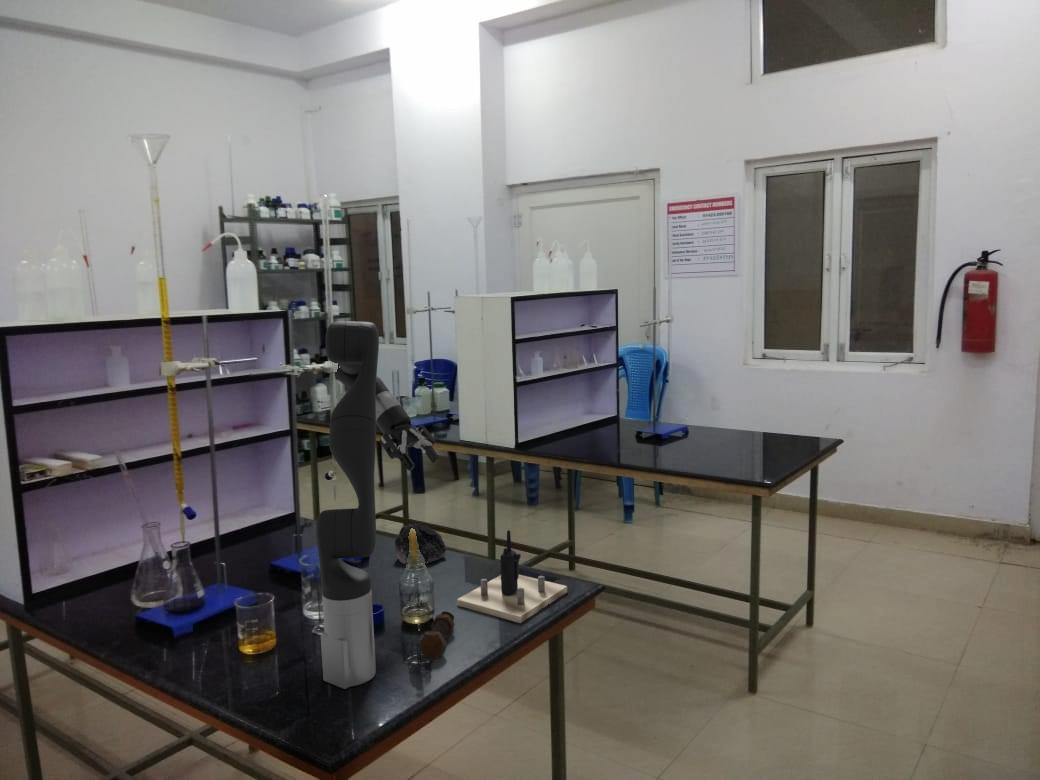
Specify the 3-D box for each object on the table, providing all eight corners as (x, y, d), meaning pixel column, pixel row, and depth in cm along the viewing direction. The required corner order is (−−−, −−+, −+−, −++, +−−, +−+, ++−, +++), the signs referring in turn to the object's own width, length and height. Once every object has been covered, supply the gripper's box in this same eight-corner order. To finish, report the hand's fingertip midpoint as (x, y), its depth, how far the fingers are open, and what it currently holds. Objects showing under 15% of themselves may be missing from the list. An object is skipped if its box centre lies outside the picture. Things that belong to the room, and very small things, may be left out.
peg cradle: (520, 623, 171) (519, 601, 170) (457, 605, 181) (456, 585, 180) (567, 592, 187) (566, 572, 186) (506, 577, 197) (506, 558, 196)
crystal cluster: (453, 563, 210) (453, 527, 210) (406, 569, 203) (406, 531, 203) (434, 552, 222) (434, 518, 221) (389, 557, 215) (389, 522, 215)
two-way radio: (507, 587, 187) (505, 527, 185) (524, 588, 186) (522, 529, 184) (499, 596, 182) (497, 534, 180) (517, 598, 181) (515, 536, 178)
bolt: (451, 633, 171) (435, 664, 156) (431, 622, 171) (414, 652, 156) (463, 611, 170) (448, 641, 155) (443, 600, 170) (427, 628, 156)
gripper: (374, 408, 183) (411, 461, 178) (415, 400, 194) (451, 449, 189) (360, 428, 187) (396, 480, 182) (401, 418, 198) (436, 467, 193)
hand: (424, 464), depth 186 cm, fingers open, 8 cm apart
